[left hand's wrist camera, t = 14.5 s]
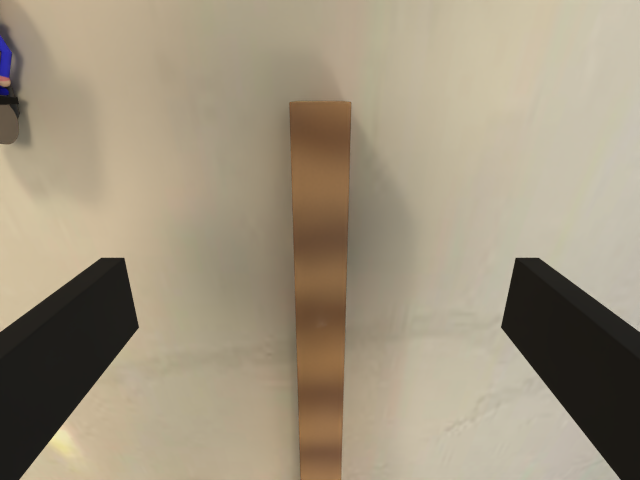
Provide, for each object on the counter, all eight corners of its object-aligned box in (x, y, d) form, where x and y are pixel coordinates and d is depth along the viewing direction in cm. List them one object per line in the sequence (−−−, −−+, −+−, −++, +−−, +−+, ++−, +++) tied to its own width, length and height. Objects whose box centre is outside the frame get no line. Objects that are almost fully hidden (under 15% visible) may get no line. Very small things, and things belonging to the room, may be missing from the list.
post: (296, 101, 36) (289, 102, 28) (344, 101, 36) (351, 102, 28) (305, 501, 56) (303, 566, 48) (336, 501, 56) (338, 566, 48)
